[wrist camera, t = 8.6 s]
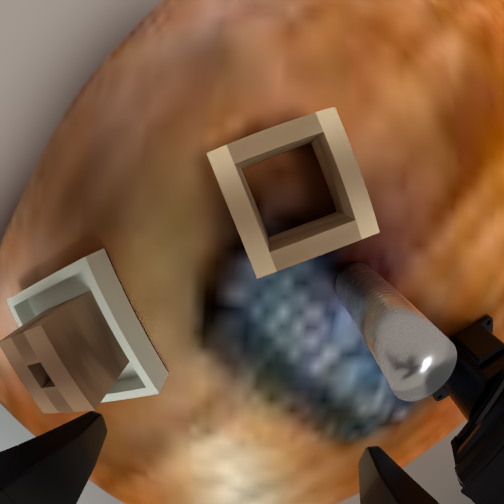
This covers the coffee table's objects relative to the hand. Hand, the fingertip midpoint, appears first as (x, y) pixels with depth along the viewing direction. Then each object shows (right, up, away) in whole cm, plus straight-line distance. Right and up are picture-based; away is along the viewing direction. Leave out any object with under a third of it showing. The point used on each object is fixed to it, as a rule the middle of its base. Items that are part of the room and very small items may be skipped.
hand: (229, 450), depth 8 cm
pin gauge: (+7, +4, +10) cm, 14 cm away
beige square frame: (+3, +10, +9) cm, 14 cm away
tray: (-12, 0, +12) cm, 17 cm away
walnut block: (-12, 0, +12) cm, 17 cm away
